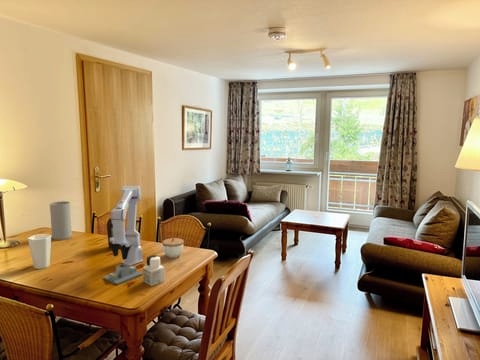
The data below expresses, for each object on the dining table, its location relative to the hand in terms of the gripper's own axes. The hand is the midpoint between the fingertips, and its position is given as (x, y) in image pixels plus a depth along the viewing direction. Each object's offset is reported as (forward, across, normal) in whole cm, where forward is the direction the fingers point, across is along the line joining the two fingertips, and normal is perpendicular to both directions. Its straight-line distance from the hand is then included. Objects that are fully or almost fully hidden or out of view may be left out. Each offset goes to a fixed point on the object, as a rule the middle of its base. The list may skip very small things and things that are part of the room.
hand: (120, 257), depth 176 cm
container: (+10, +20, +6) cm, 23 cm away
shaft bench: (+10, +2, 0) cm, 10 cm away
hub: (+9, +2, -1) cm, 9 cm away
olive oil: (+10, -41, +25) cm, 49 cm away
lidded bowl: (+10, 0, +37) cm, 38 cm away
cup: (+10, -46, -19) cm, 51 cm away
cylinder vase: (+10, -90, +14) cm, 92 cm away
